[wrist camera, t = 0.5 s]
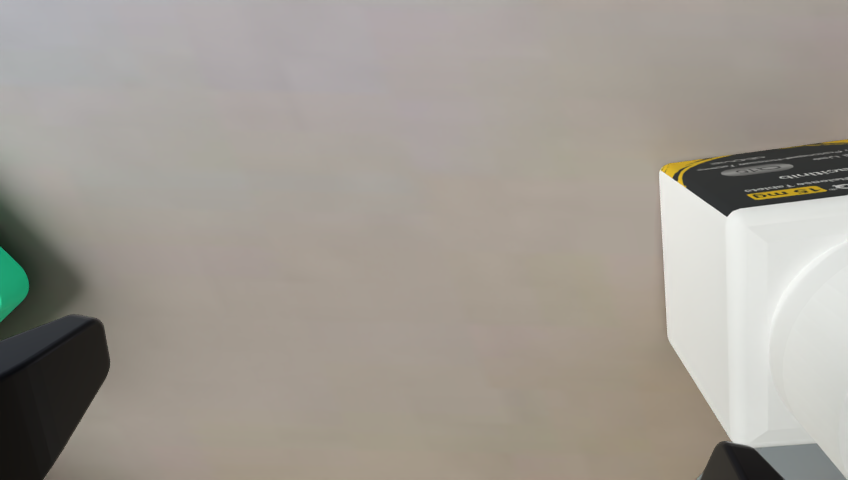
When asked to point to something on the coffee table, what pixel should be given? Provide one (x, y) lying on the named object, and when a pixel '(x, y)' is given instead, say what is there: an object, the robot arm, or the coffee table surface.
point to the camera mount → (11, 284)
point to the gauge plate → (800, 462)
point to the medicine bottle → (763, 291)
